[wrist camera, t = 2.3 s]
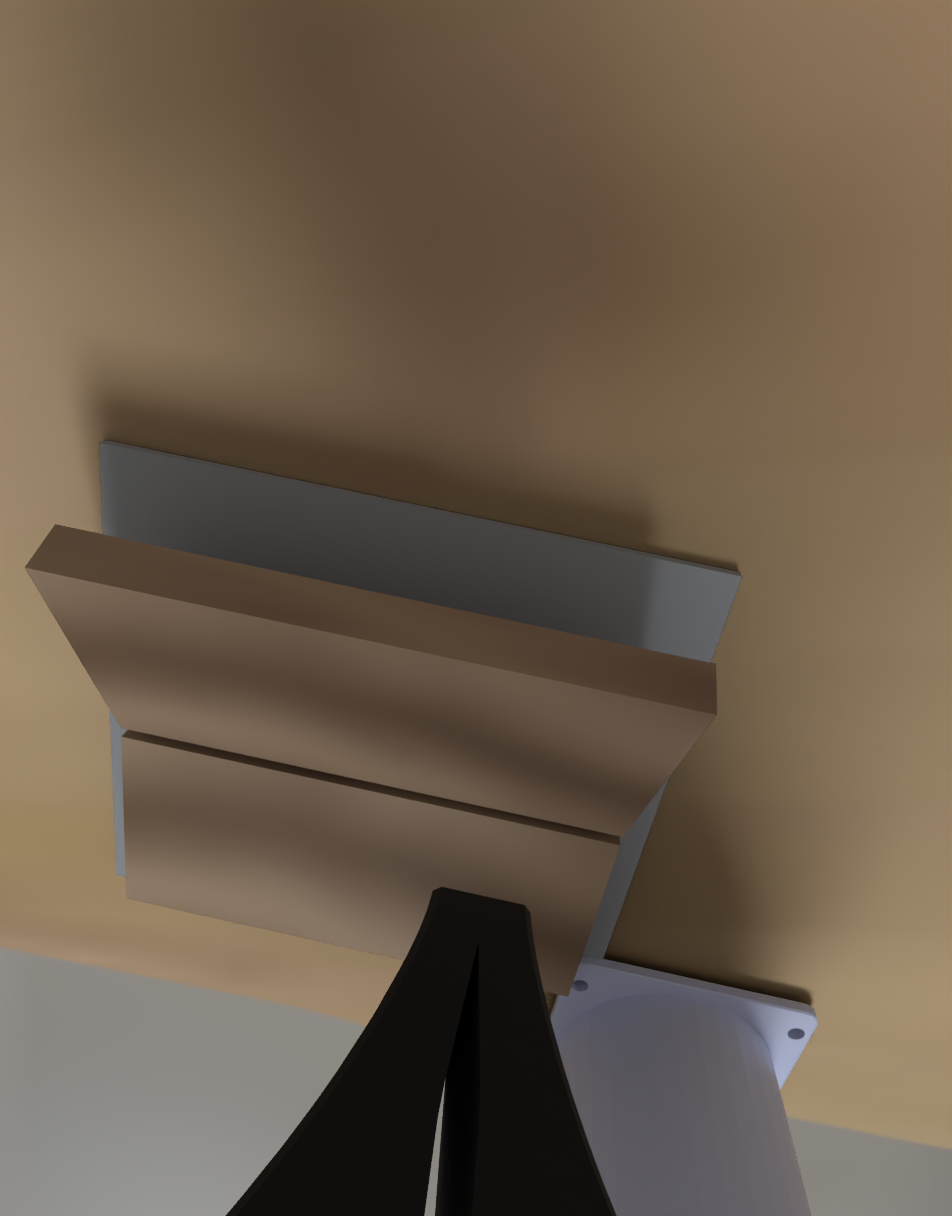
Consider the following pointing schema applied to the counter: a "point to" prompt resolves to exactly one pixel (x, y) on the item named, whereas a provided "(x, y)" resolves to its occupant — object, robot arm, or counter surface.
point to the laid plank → (345, 853)
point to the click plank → (374, 682)
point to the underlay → (419, 575)
